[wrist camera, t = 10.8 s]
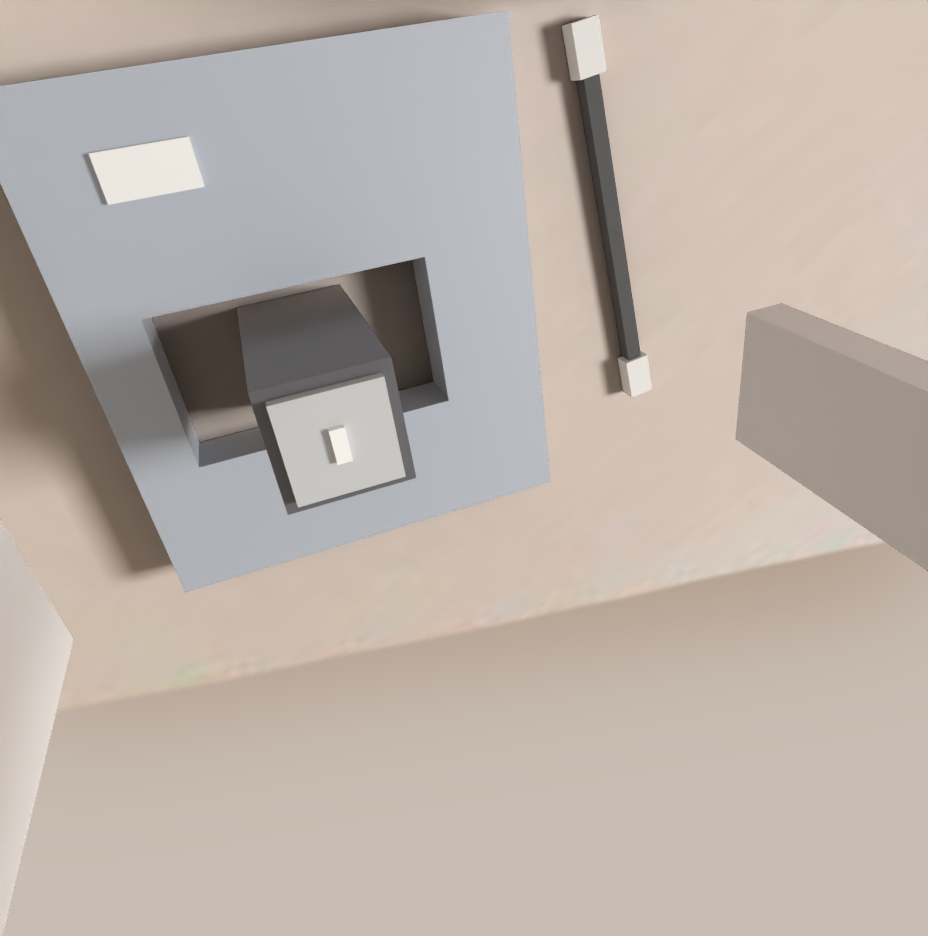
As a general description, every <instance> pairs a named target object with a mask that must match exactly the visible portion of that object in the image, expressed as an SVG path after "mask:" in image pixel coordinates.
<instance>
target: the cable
mask: <svg viewBox="0 0 928 936" xmlns="http://www.w3.org/2000/svg"><path fill="white" fill-rule="evenodd" d="M562 31H563V37H564V43H565V49H566V55H567V61H568V67H569V73H570V79H571V81H577V87H578V93H579V99H580V105H581V111H582V117H583V123H584V129H585V136H586V142H587V148H588V154H589V160H590V166H591V172H592V178H593V184H594V190H595V196H596V202H597V208H598V215H599V221H600V227H601V233H602V239H603V245H604V251H605V257H606V263H607V269H608V275H609V281H610V287H611V294H612V300H613V306H614V312H615V318H616V324H617V330H618V336H619V342H620V348H621V354H622V356H621V357H619V358H618V364H619V370H620V375H621V381H622V387H623V392H625V393H626V394H628V395H629V396H630V397H634V396H637V395H639V394H641V393H644V392H646V391H648V390H651V389H652V385H651V378H650V371H649V364H648V357H647V354H645V353H643V352H641V351H640V347H639V340H638V333H637V326H636V320H635V313H634V306H633V299H632V293H631V286H630V279H629V272H628V266H627V259H626V252H625V245H624V239H623V232H622V225H621V218H620V212H619V205H618V198H617V191H616V185H615V178H614V171H613V164H612V157H611V151H610V144H609V137H608V130H607V124H606V117H605V110H604V103H603V97H602V90H601V83H600V76H599V74H600V73H603V72H605V71H607V69H606V62H605V55H604V48H603V41H602V34H601V27H600V20H599V15H594V16H590V17H586V18H583V19H580V20H578V21H575V22H572V23H569V24H566V25H563V26H562Z"/></svg>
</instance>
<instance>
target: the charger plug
mask: <svg viewBox="0 0 928 936" xmlns="http://www.w3.org/2000/svg"><path fill="white" fill-rule="evenodd" d="M237 315H238V323H239V330H240V338H241V346H242V353H243V361H244V368H245V376H246V384H247V391H248V395H249V398H250V401H251V404H252V408H253V411H254V414H255V417H256V420H257V423H258V426H259V429H260V432H261V435H262V438H263V441H264V444H265V447H266V450H267V453H268V456H269V459H270V462H271V465H272V468H273V471H274V474H275V478H276V481H277V484H278V487H279V490H280V493H281V496H282V499H283V502H284V505H285V508H286V511H287V514H288V515H290V514H293V513H297V512H300V511H304V510H307V509H311V508H314V507H318V506H321V505H325V504H328V503H331V502H335V501H338V500H342V499H345V498H349V497H352V496H356V495H359V494H363V493H366V492H369V491H373V490H376V489H380V488H383V487H387V486H390V485H394V484H397V483H401V482H404V481H407V480H411V479H414V478H416V473H415V469H414V464H413V459H412V454H411V449H410V444H409V439H408V435H407V430H406V425H405V420H404V415H403V410H402V405H401V401H400V396H399V391H398V386H397V381H396V376H395V371H394V367H393V362H392V357H391V356H390V354H389V353H388V351H387V350H386V349H385V347H384V346H383V344H382V343H381V342H380V340H379V339H378V337H377V336H376V335H375V333H374V332H373V330H372V329H371V328H370V326H369V325H368V323H367V322H366V321H365V319H364V318H363V316H362V315H361V313H360V312H359V311H358V309H357V308H356V306H355V305H354V304H353V302H352V301H351V299H350V298H349V297H348V295H347V294H346V292H345V291H344V290H343V288H342V287H341V285H335V286H331V287H326V288H322V289H317V290H313V291H308V292H304V293H299V294H295V295H291V296H286V297H282V298H277V299H273V300H268V301H264V302H259V303H255V304H250V305H246V306H242V307H237Z"/></svg>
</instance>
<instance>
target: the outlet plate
mask: <svg viewBox="0 0 928 936" xmlns="http://www.w3.org/2000/svg"><path fill="white" fill-rule="evenodd" d="M0 184H1V186H2V188H3V190H4V193H5V195H6V197H7V199H8V201H9V204H10V206H11V208H12V210H13V213H14V215H15V217H16V219H17V221H18V224H19V226H20V228H21V230H22V232H23V235H24V237H25V239H26V241H27V244H28V246H29V248H30V250H31V252H32V255H33V257H34V259H35V261H36V263H37V266H38V268H39V270H40V272H41V274H42V277H43V279H44V281H45V283H46V286H47V288H48V290H49V292H50V294H51V297H52V299H53V301H54V303H55V305H56V308H57V310H58V312H59V314H60V316H61V319H62V321H63V323H64V325H65V328H66V330H67V332H68V334H69V336H70V339H71V341H72V343H73V345H74V347H75V350H76V352H77V354H78V356H79V358H80V361H81V363H82V365H83V367H84V370H85V372H86V374H87V376H88V378H89V381H90V383H91V385H92V387H93V389H94V392H95V394H96V396H97V398H98V401H99V403H100V405H101V407H102V409H103V412H104V414H105V416H106V418H107V420H108V423H109V425H110V427H111V429H112V431H113V434H114V436H115V438H116V440H117V443H118V445H119V447H120V449H121V451H122V454H123V456H124V458H125V460H126V462H127V465H128V467H129V469H130V471H131V473H132V476H133V478H134V480H135V482H136V485H137V487H138V489H139V491H140V493H141V496H142V498H143V500H144V502H145V504H146V507H147V509H148V511H149V513H150V515H151V518H152V520H153V522H154V524H155V527H156V529H157V531H158V533H159V535H160V538H161V540H162V542H163V544H164V546H165V549H166V551H167V553H168V555H169V558H170V560H171V562H172V564H173V566H174V569H175V571H176V573H177V575H178V577H179V580H180V582H181V584H182V586H183V588H184V591H185V592H188V591H192V590H195V589H198V588H202V587H205V586H208V585H212V584H215V583H218V582H221V581H225V580H228V579H231V578H235V577H238V576H241V575H245V574H248V573H251V572H254V571H258V570H261V569H264V568H268V567H271V566H274V565H278V564H281V563H284V562H287V561H291V560H294V559H297V558H301V557H304V556H307V555H310V554H314V553H317V552H320V551H324V550H327V549H330V548H334V547H337V546H340V545H343V544H347V543H350V542H353V541H357V540H360V539H363V538H367V537H370V536H373V535H376V534H380V533H383V532H386V531H390V530H393V529H396V528H399V527H403V526H406V525H409V524H413V523H416V522H419V521H423V520H426V519H429V518H432V517H436V516H439V515H442V514H446V513H449V512H452V511H456V510H459V509H462V508H465V507H469V506H472V505H475V504H479V503H482V502H485V501H489V500H492V499H495V498H498V497H502V496H505V495H508V494H512V493H515V492H518V491H521V490H525V489H528V488H531V487H535V486H538V485H541V484H545V483H548V482H550V472H549V461H548V450H547V439H546V428H545V416H544V405H543V394H542V383H541V372H540V360H539V349H538V338H537V327H536V316H535V304H534V293H533V282H532V271H531V260H530V248H529V237H528V226H527V215H526V204H525V192H524V181H523V170H522V159H521V148H520V137H519V125H518V114H517V103H516V92H515V81H514V69H513V58H512V47H511V36H510V25H509V13H508V10H507V11H500V12H494V13H487V14H480V15H473V16H467V17H460V18H453V19H447V20H440V21H433V22H426V23H420V24H413V25H406V26H400V27H393V28H386V29H379V30H373V31H366V32H359V33H353V34H346V35H339V36H332V37H326V38H319V39H312V40H305V41H299V42H292V43H285V44H279V45H272V46H265V47H258V48H252V49H245V50H238V51H232V52H225V53H218V54H211V55H205V56H198V57H191V58H185V59H178V60H171V61H164V62H158V63H151V64H144V65H138V66H131V67H124V68H117V69H111V70H104V71H97V72H91V73H84V74H77V75H70V76H64V77H57V78H50V79H44V80H37V81H30V82H23V83H17V84H10V85H3V86H0ZM409 260H412V262H413V268H414V274H415V279H416V285H417V291H418V296H419V302H420V308H421V313H422V319H423V325H424V330H425V336H426V342H427V347H428V353H429V359H430V364H431V370H432V376H433V382H430V383H427V384H423V385H419V386H415V387H411V388H407V389H404V390H400V391H399V396H400V401H401V405H402V410H403V415H404V420H405V425H406V430H407V435H408V439H409V444H410V449H411V454H412V459H413V464H414V469H415V473H416V478H414V479H411V480H407V481H404V482H401V483H397V484H394V485H390V486H387V487H383V488H380V489H376V490H373V491H369V492H366V493H363V494H359V495H356V496H352V497H349V498H345V499H342V500H338V501H335V502H331V503H328V504H325V505H321V506H318V507H314V508H311V509H307V510H304V511H300V512H297V513H293V514H290V515H288V514H287V511H286V508H285V505H284V502H283V499H282V496H281V493H280V490H279V487H278V484H277V481H276V478H275V474H274V471H273V468H272V465H271V462H270V459H269V456H268V453H267V450H266V447H265V444H264V441H263V438H262V435H261V432H260V429H259V427H258V428H254V429H250V430H247V431H243V432H239V433H235V434H231V435H227V436H224V437H220V438H216V439H212V440H208V441H204V442H201V443H199V440H198V437H197V435H196V432H195V429H194V427H193V424H192V422H191V419H190V416H189V414H188V411H187V409H186V406H185V403H184V401H183V398H182V396H181V393H180V390H179V388H178V385H177V382H176V380H175V377H174V375H173V372H172V369H171V367H170V364H169V362H168V359H167V356H166V354H165V351H164V349H163V346H162V343H161V341H160V338H159V335H158V333H157V330H156V328H155V325H154V322H153V320H152V317H156V316H161V315H165V314H170V313H174V312H179V311H183V310H188V309H192V308H197V307H201V306H206V305H210V304H215V303H219V302H224V301H228V300H233V299H237V298H242V297H246V296H251V295H255V294H260V293H264V292H269V291H273V290H278V289H282V288H287V287H291V286H296V285H300V284H305V283H309V282H314V281H318V280H323V279H327V278H332V277H336V276H341V275H345V274H350V273H355V272H359V271H364V270H368V269H373V268H377V267H382V266H386V265H391V264H395V263H400V262H404V261H409Z"/></svg>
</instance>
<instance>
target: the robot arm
mask: <svg viewBox="0 0 928 936" xmlns="http://www.w3.org/2000/svg"><path fill="white" fill-rule="evenodd" d="M736 440H738V441H739V442H741V443H742V444H744V445H745V446H747V447H748V448H749V449H751V450H752V451H754V452H755V453H757V454H758V455H760V456H761V457H763V458H764V459H765V460H767V461H768V462H770V463H771V464H773V465H774V466H776V467H777V468H779V469H780V470H781V471H783V472H784V473H786V474H787V475H789V476H790V477H792V478H793V479H795V480H796V481H797V482H799V483H800V484H802V485H803V486H805V487H806V488H808V489H809V490H811V491H812V492H813V493H815V494H816V495H818V496H819V497H821V498H822V499H824V500H825V501H826V502H828V503H829V504H831V505H832V506H834V507H835V508H837V509H838V510H840V511H841V512H842V513H844V514H845V515H847V516H848V517H850V518H851V519H853V520H854V521H856V522H857V523H858V524H860V525H861V526H863V527H864V528H866V529H867V530H869V531H870V532H872V533H873V534H874V535H876V536H877V537H879V538H880V539H882V540H883V541H885V542H886V543H888V544H889V545H891V546H892V547H893V548H895V549H896V550H898V551H899V552H901V553H902V554H904V555H905V556H907V557H908V558H909V559H911V560H912V561H914V562H915V563H917V564H918V565H920V566H921V567H923V568H924V569H925V570H927V571H928V361H926V360H924V359H921V358H919V357H916V356H914V355H911V354H908V353H906V352H903V351H901V350H898V349H896V348H893V347H891V346H888V345H886V344H883V343H881V342H878V341H876V340H873V339H871V338H868V337H866V336H863V335H860V334H858V333H855V332H853V331H850V330H848V329H845V328H843V327H840V326H838V325H835V324H833V323H830V322H828V321H825V320H823V319H820V318H818V317H815V316H813V315H810V314H807V313H805V312H802V311H800V310H797V309H795V308H792V307H790V306H787V305H785V304H782V303H781V304H777V305H773V306H770V307H766V308H762V309H758V310H754V311H751V312H747V318H746V329H745V340H744V351H743V362H742V374H741V385H740V396H739V407H738V418H737V429H736ZM72 644H73V638H72V636H71V635H70V633H69V631H68V630H67V628H66V627H65V625H64V623H63V622H62V620H61V618H60V617H59V615H58V613H57V612H56V610H55V608H54V607H53V605H52V604H51V602H50V600H49V599H48V597H47V595H46V594H45V592H44V590H43V589H42V587H41V586H40V584H39V582H38V581H37V579H36V577H35V576H34V574H33V572H32V571H31V569H30V567H29V566H28V564H27V563H26V561H25V559H24V558H23V556H22V554H21V553H20V551H19V549H18V548H17V546H16V545H15V543H14V541H13V540H12V538H11V536H10V535H9V533H8V531H7V530H6V528H5V527H4V525H3V523H2V522H1V520H0V936H3V931H4V927H5V923H6V919H7V915H8V910H9V907H10V902H11V898H12V894H13V889H14V886H15V881H16V877H17V873H18V869H19V865H20V861H21V857H22V852H23V848H24V844H25V840H26V836H27V831H28V827H29V823H30V819H31V815H32V811H33V807H34V802H35V798H36V794H37V790H38V785H39V782H40V777H41V773H42V769H43V765H44V761H45V757H46V752H47V748H48V744H49V740H50V735H51V732H52V727H53V723H54V719H55V715H56V711H57V707H58V702H59V698H60V694H61V690H62V686H63V682H64V677H65V673H66V669H67V665H68V661H69V656H70V652H71V648H72Z"/></svg>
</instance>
